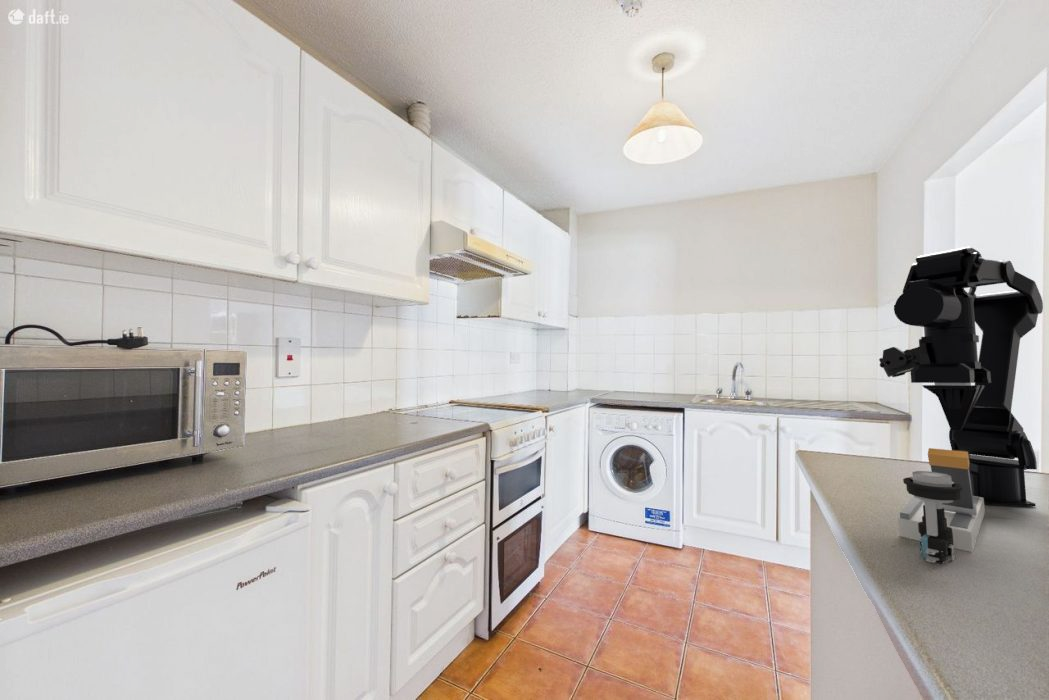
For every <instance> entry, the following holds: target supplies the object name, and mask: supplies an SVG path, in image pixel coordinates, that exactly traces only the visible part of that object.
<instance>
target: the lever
mask: <svg viewBox="0 0 1049 700" xmlns="http://www.w3.org/2000/svg"><path fill="white" fill-rule="evenodd" d="M927 456H928V457H927V458H928V464H929V466H930V469H931V470H930V472H937V473H942V474H947V475H950V476H951V480H952V481H953V482H955V483H958V484H960V485H962V487H963V490H962V491H960V499H959V500H953V502H951V503H943V508H944V510H945V511H950V512H956V513H962V514H968V515H974V516H976V515H977V508H976V504H974V502H973V495H972V487H971V480H970V472H969V456H968V452H965V451H954V450H952V449H943V448H941V449H940V448H931V447H929V448H928V451H927Z"/></svg>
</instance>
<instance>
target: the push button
mask: <svg viewBox="0 0 1049 700" xmlns="http://www.w3.org/2000/svg"><path fill="white" fill-rule="evenodd" d="M911 473H912V474H911V475H912V476H910V477H905V478H903V479H902V481H903V484H904V485H906V486H905V487H906V492H907V493H908V494H909V495H912V496H914V497H915V498H918V499H920V500H923V501H924V505H923V514H924V515H923V516H922V522H919V523H918V530H919V533H920V535H921V539H920V540H918V550H919V551H918V552H919V553H921V552H922V558H923V559H924V560H925V561H926V562H930V563H933V564H935V563H939V564H944V563H945V561H946V560H947V558H949V557H948V556H951V560H952V561H954V559H955V548H954V545H953V533H952V528H951V527H947V518H945V512H944V508H943V503H951V502H953V500H959V499H960V491H962V490H963V487H962V485H960V484H958V483H955V482H953V481H952V480H951V476H950V475H947V474H942V473H937V472H932V471H928V470H927V471H925V470H924V471H923V470H916V471H912V472H911Z"/></svg>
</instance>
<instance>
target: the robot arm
mask: <svg viewBox="0 0 1049 700" xmlns="http://www.w3.org/2000/svg"><path fill="white" fill-rule="evenodd" d="M999 284H1006V286H1007V287H1009V288H1011V289H1012V290H1006V291H998V292H989V293H981V294H980V295H979V294H978V295H976V291H977V289H978V287H983V286H990V285H999ZM967 288H969V291H967V290H965V289H967ZM1043 305H1044V302H1043V298H1042V295H1041V293H1040V290H1039V288H1038V286H1037V284H1036V281H1035V280H1033V279H1031V278H1029V277H1028V276H1025V275H1024V274H1022V273H1020V272H1018V271H1016V270H1015V268H1014V266H1013V263H1012V261H1010V260H1004V259H1002V260H994V259H987V258H984V257H982V254H981V253H980V251H978V250H976V249H975V248H974V247H971V246H964V247H960V248H955V249H950V250H945V251H943V250H942V251H939V252H933V253H929V254H923V255H919V256H917V257H916V258H915V263H912V265H911V266H910V269H909V271H908V274H907V277H906V281H905V283H904V286H903V289H902V294H900V295H899V296H898V298H897V299H896V301H895V303H894V304H893V312H894V315H895V317H896V319H898V320H899V321H900V322H901V323H904V324H905V325H908V326H913V327H921V328H923V331H924V332H923V333H924V336H920V338H919V339H918V344H919V345H918V346H917V347H914V348H911V349H905V350H904V351H902V349H900V348H898V347H896V346H893V347H889V348H886V349H884V350H882V357H880V358H879V359H878V360H879V362H880V363H879V367H880V368H882V369H883V370H884V372H885V373H886V375H887V378H890V377H892V378H896V377H901V376H904V375H905V374H907V373H910V383H912V384H913V383H914V384H917V383H920V384H923V385H922V388H924V389H926V390H927V391H929V392H931V393H932V394H934V395H935V396H936V397H937V399H938V401H939V403H940V406H941V408H942V411H943V413H944V416H945V419H946V421H947V423H948V426H949V432H948V439H949V443H950V449H951V450H954V451H965V452H968V456H969V472H970V480H971V487H972V495H973V496H977V497H983V498H984V505H988V506H989V505H990V506H1013V507H1036V503H1035V502H1033V501H1029V500H1027V489H1026V482H1025V481H1026V477H1025V471H1027V470H1038V465H1037V463H1038V462H1037V458H1036V453H1035V451H1034V448H1033V446H1032V445H1033V444H1032V443H1031V441H1030V440H1029V439H1028V436H1027V434H1026V432H1025V431H1024V427H1023V426H1022V425H1021V423H1020V422H1019V421H1018V420H1017V419H1016V417H1015V416H1014V414H1013V412H1012V405H1013V398H1014V389H1015V383H1016V373H1017V365H1018V358H1019V352H1020V351H1019V350H1020V343H1021V338H1023V337H1024V336H1026V335H1027V334H1028V333H1029V332H1031V331H1032V330H1033V329H1034V328H1035V327H1036V326H1037V320H1038V318H1039V317H1038V315H1041V314H1042V313H1043V311H1044V306H1043ZM976 325H977V327H978V328H979V329H980V330H981V332H982V336H981V342H980V336H979V335H977V332H976ZM979 342H980V343H981V344H980V349H979V355H978V346H977V343H979ZM925 383H926V384H925ZM927 383H930V384H927ZM931 383H933V384H931ZM973 384H974V385H973Z"/></svg>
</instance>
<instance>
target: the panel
mask: <svg viewBox="0 0 1049 700" xmlns="http://www.w3.org/2000/svg"><path fill="white" fill-rule="evenodd" d="M973 502H974V504H976V508H977V515H976V516H974V515H968V514H962V513H956V512H950V511H945V510H944V512H945V518H947V527H951V528H952V533H953V545H954V549H957V550H961V551H966V552H969V553H973V551H974V550H975V549H974V548H975V547H976V541H977V540H978V537H979V532H980V530H981V527H982V524H983V521H984V517H985V515H986V512H985V511H986V510H985V503H984V498H983V497H977V496H973ZM923 505H924V501H923V500H920V499H918V498H915V497H914V495H912V497H911V498H910V500H909V501H907V503H906V504H905V505H904V507H902V508H901V510H900V511H899V516H898V517H897V520H898V523H897V524H898V537H901V538H906V539H910V540H915V541H919V540H920V539H921V535H920V533H919V530H918V523H919V522H922V516H923V515H924V514H923Z"/></svg>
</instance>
